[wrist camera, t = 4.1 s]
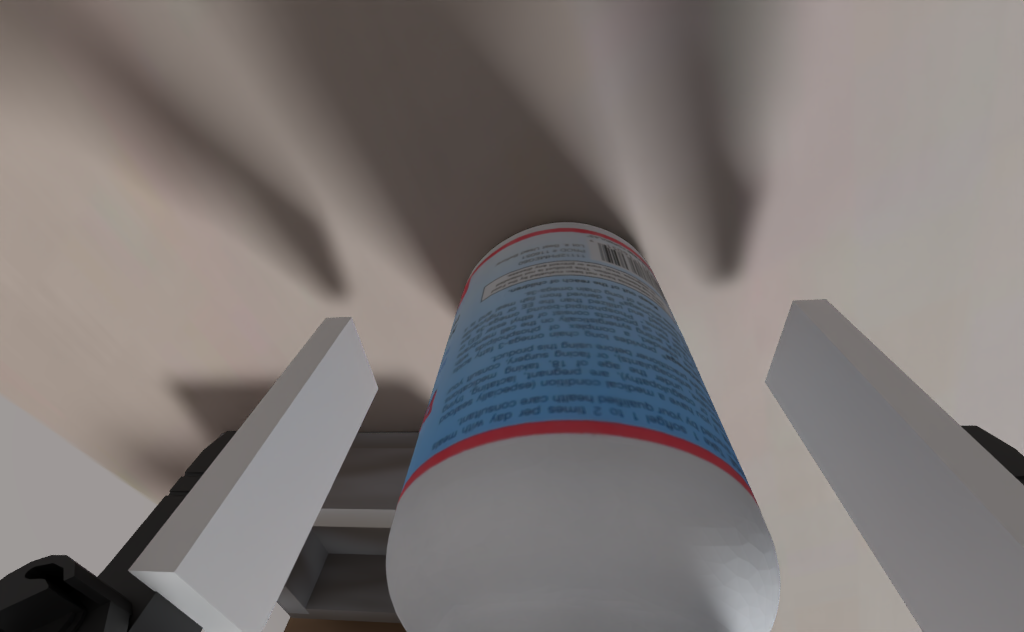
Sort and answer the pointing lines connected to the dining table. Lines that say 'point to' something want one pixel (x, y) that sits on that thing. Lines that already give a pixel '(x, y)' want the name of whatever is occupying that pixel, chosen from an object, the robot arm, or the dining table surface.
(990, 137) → the dining table surface
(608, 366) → the pill bottle
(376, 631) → the cup bracket
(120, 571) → the robot arm
